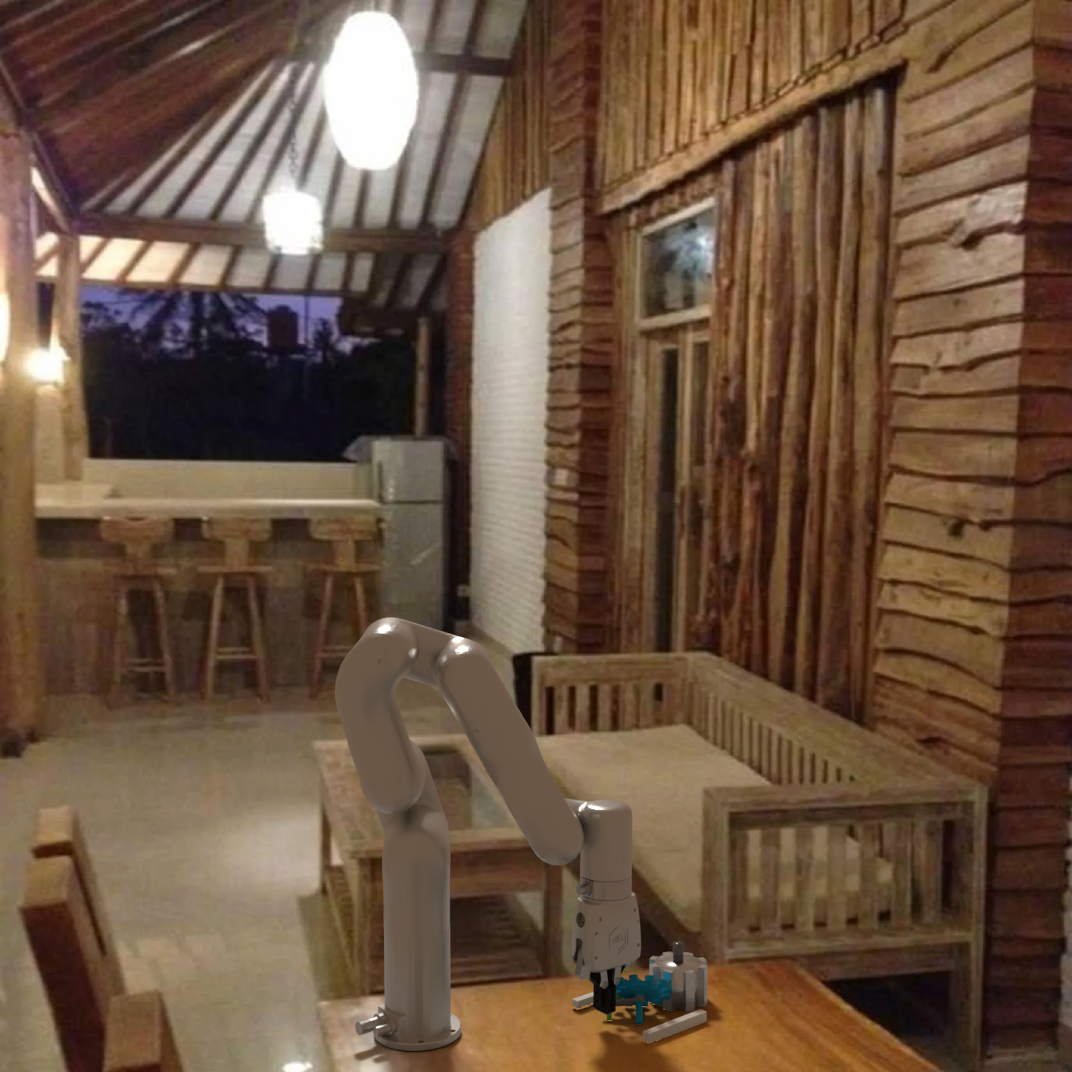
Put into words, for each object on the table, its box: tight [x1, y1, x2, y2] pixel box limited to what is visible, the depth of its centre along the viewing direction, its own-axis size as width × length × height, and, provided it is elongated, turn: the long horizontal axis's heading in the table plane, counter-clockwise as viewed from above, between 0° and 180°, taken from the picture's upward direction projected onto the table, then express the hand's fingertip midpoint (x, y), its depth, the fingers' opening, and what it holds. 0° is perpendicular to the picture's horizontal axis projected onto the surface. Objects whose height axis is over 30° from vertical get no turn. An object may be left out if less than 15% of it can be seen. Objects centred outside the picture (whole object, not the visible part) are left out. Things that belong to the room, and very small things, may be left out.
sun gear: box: [648, 940, 709, 1013], centre depth 204 cm, size 9×9×9 cm
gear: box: [606, 973, 672, 1025], centre depth 197 cm, size 11×6×10 cm
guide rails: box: [571, 991, 708, 1044], centre depth 198 cm, size 12×16×2 cm
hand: (604, 1010), depth 194 cm, fingers closed
